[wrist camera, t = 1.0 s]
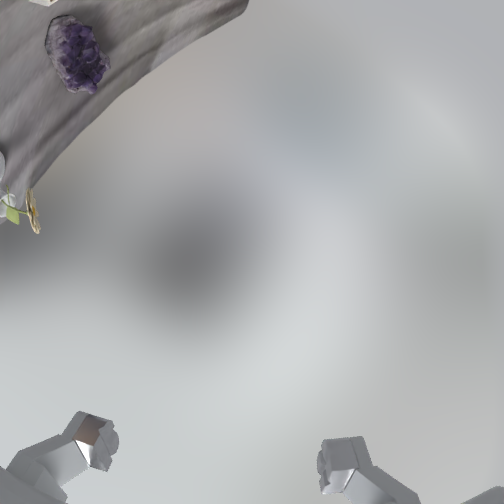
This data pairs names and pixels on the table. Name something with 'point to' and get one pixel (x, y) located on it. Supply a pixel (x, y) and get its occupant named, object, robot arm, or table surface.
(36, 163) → the table surface
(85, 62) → the geode
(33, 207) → the flower in vase
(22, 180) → the table surface
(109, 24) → the table surface
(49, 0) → the deep cup
